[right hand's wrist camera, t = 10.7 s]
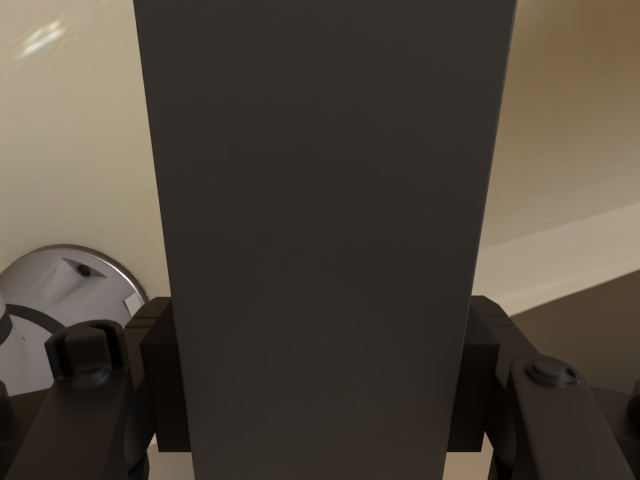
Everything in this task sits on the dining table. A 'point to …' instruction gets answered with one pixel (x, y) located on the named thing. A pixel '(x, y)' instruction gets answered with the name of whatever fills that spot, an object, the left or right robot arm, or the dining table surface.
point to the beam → (322, 222)
